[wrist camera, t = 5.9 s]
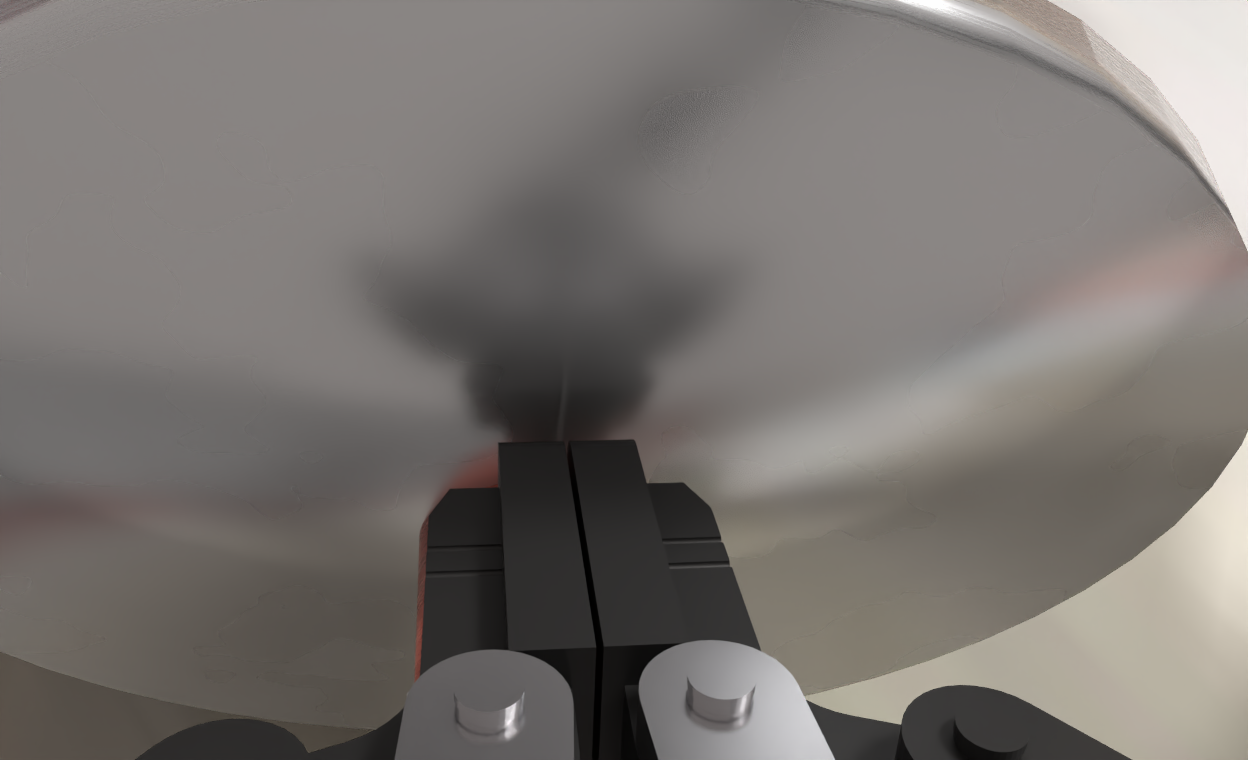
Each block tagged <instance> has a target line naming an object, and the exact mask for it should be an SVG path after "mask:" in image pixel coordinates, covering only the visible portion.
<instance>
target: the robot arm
mask: <svg viewBox="0 0 1248 760" xmlns="http://www.w3.org/2000/svg"><path fill="white" fill-rule="evenodd" d="M135 760H1131V759H1130V758H1128V757H1126V756H1124V755H1122V754H1121V753H1119V752H1117V751H1115V750H1113V749H1111V748H1110V747H1108V746H1106V745H1104V744H1102V743H1101V742H1099V741H1097V740H1095V739H1093V738H1091V737H1090V736H1088V735H1086V734H1084V733H1082V732H1081V731H1079V730H1077V729H1075V728H1073V727H1071V726H1070V725H1068V724H1066V723H1064V722H1062V721H1061V720H1059V719H1057V718H1055V717H1053V716H1051V715H1050V714H1048V713H1046V712H1044V711H1042V710H1041V709H1039V708H1037V707H1035V706H1033V705H1031V704H1030V703H1028V702H1026V701H1024V700H1022V699H1019V698H1017V697H1015V696H1013V695H1010V694H1007V693H1004V692H1002V691H998V690H994V689H990V688H985V687H978V686H968V685H955V686H945V687H941V688H936V689H933V690H930V691H928V692H926V693H923V694H922V695H920V696H919V697H917V698H916V699H914V700H913V702H912V703H911V704H910V705H909V706H908V707H907V709H906V711H905V713H904V715H903V719H902V724H901V725H899V724H893V723H888V722H883V721H877V720H872V719H867V718H861V717H856V716H851V715H847V714H842V713H838V712H834V711H832V710H829V709H826V708H823V707H820V706H818V705H816V704H814V703H812V702H809V701H807V700H806V699H805V697H804V695H803V693H802V691H801V689H800V687H799V685H798V683H797V682H796V680H795V679H794V677H793V675H792V674H791V673H790V672H789V671H788V670H787V669H786V668H785V667H784V666H783V665H782V664H781V663H779V662H778V661H777V660H776V659H774V658H772V657H771V656H769V655H767V654H766V653H764V652H762V651H761V648H760V645H759V643H758V640H757V637H756V634H755V631H754V628H753V625H752V623H751V620H750V617H749V614H748V611H747V608H746V606H745V603H744V600H743V597H742V594H741V591H740V588H739V586H738V583H737V580H736V577H735V574H734V571H733V568H732V567H730V560H729V557H728V554H727V551H726V549H725V546H724V543H723V542H721V534H720V531H719V529H718V526H717V523H716V520H715V517H714V514H713V511H712V509H711V507H710V506H709V505H708V504H707V503H706V502H705V501H703V500H702V499H701V498H700V497H699V496H698V495H697V494H696V493H695V492H693V491H692V490H691V489H690V488H689V487H688V486H687V485H686V484H685V483H684V482H678V483H647V482H646V478H645V475H644V471H643V467H642V463H641V460H640V456H639V452H638V448H637V445H636V442H635V440H634V439H627V440H579V441H569V442H568V447H567V454H566V448H565V443H564V441H543V442H498V487H495V488H456V489H449V490H448V492H447V493H446V494H445V496H444V497H443V498H442V499H441V501H440V502H439V503H438V504H437V506H436V507H435V508H434V510H433V511H432V512H431V513H430V515H429V518H428V537H427V555H426V578H425V592H424V610H423V628H422V647H421V665H420V676H419V678H418V679H417V680H416V682H415V683H414V684H413V685H412V687H411V689H410V691H409V692H408V695H407V698H406V701H405V705H404V707H403V709H402V710H401V711H400V712H399V713H398V714H397V715H395V716H394V717H393V718H392V719H391V720H389V721H388V722H387V723H385V724H384V725H382V726H380V727H379V728H377V729H376V730H374V731H372V732H370V733H368V734H366V735H363V736H361V737H359V738H356V739H353V740H351V741H348V742H345V743H342V744H338V745H335V746H332V747H328V748H325V749H322V750H318V751H315V752H311V753H308V752H307V751H306V749H305V747H304V745H303V744H302V743H301V742H300V741H299V740H298V739H297V738H296V737H295V736H294V735H293V734H291V733H290V732H288V731H287V730H285V729H283V728H281V727H279V726H276V725H274V724H271V723H267V722H263V721H259V720H250V719H226V720H219V721H212V722H208V723H204V724H200V725H196V726H193V727H191V728H188V729H185V730H182V731H180V732H178V733H176V734H174V735H172V736H170V737H168V738H166V739H164V740H163V741H161V742H160V743H158V744H157V745H155V746H153V747H152V748H151V749H149V750H148V751H146V752H145V753H144V754H142V755H141V756H139V757H138V758H137V759H135Z"/></svg>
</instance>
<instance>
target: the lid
mask: <svg viewBox="0 0 1248 760" xmlns="http://www.w3.org/2000/svg"><path fill="white" fill-rule="evenodd" d="M1247 431H1248V251H1247V249H1246V247H1245V244H1244V242H1243V240H1242V238H1241V235H1240V233H1239V231H1238V229H1237V226H1236V224H1235V222H1234V220H1233V218H1232V215H1231V213H1230V211H1229V209H1228V207H1227V204H1226V202H1225V200H1224V198H1223V195H1222V193H1221V191H1220V189H1219V187H1218V184H1217V182H1216V180H1215V178H1214V176H1213V173H1212V171H1211V169H1210V167H1209V165H1208V162H1207V160H1206V158H1205V156H1204V154H1203V151H1202V149H1201V147H1200V145H1199V143H1198V140H1197V139H1196V137H1195V136H1194V135H1193V134H1192V132H1191V131H1190V130H1189V128H1188V127H1187V126H1186V124H1185V123H1184V122H1183V121H1182V119H1181V118H1180V117H1179V115H1178V114H1177V113H1176V111H1175V110H1174V109H1173V108H1172V106H1171V105H1170V104H1169V102H1168V101H1167V100H1166V98H1165V97H1164V96H1163V95H1162V93H1161V92H1160V91H1159V89H1158V88H1157V87H1156V85H1155V84H1154V83H1153V81H1152V80H1151V79H1150V78H1149V77H1148V76H1147V75H1145V74H1144V73H1143V72H1142V71H1141V70H1140V69H1138V68H1137V67H1136V66H1135V65H1134V64H1132V63H1131V62H1130V61H1129V60H1128V59H1127V58H1125V57H1124V56H1123V55H1122V54H1121V53H1119V52H1118V51H1117V50H1116V49H1115V48H1114V47H1112V46H1111V45H1110V44H1109V43H1108V42H1106V41H1105V40H1104V39H1103V38H1102V37H1101V36H1099V35H1098V34H1097V33H1096V32H1095V31H1093V30H1092V29H1091V28H1090V27H1089V26H1088V25H1086V24H1085V23H1084V22H1083V21H1082V20H1080V19H1079V18H1077V17H1075V16H1074V15H1072V14H1070V13H1068V12H1067V11H1065V10H1063V9H1061V8H1060V7H1058V6H1056V5H1054V4H1053V3H1051V2H1049V1H1048V0H0V652H3V653H5V654H8V655H10V656H13V657H16V658H18V659H21V660H24V661H26V662H29V663H31V664H34V665H37V666H39V667H42V668H45V669H48V670H52V671H55V672H58V673H61V674H65V675H68V676H71V677H74V678H78V679H81V680H84V681H87V682H91V683H94V684H97V685H100V686H104V687H108V688H112V689H116V690H120V691H124V692H128V693H132V694H136V695H140V696H144V697H149V698H153V699H157V700H161V701H165V702H170V703H175V704H181V705H186V706H191V707H196V708H201V709H207V710H212V711H217V712H222V713H228V714H235V715H242V716H249V717H256V718H263V719H270V720H277V721H284V722H292V723H302V724H312V725H322V726H332V727H342V728H355V729H372V730H376V729H377V728H379V727H380V726H382V725H384V724H385V723H387V722H388V721H389V720H391V719H392V718H393V717H394V716H395V715H397V714H398V713H399V712H400V711H401V710H402V709H403V707H404V705H405V701H406V698H407V695H408V692H409V691H410V689H411V687H412V685H413V684H414V683H415V682H416V680H417V679H418V678H419V676H420V665H421V647H422V628H423V610H424V592H425V578H426V555H427V537H428V518H429V515H430V513H431V512H432V511H433V510H434V508H435V507H436V506H437V504H438V503H439V502H440V501H441V499H442V498H443V497H444V496H445V494H446V493H447V492H448V490H449V489H456V488H495V487H498V442H543V441H564V443H565V448H566V454H567V447H568V442H569V441H579V440H627V439H634V440H635V442H636V445H637V448H638V452H639V456H640V460H641V463H642V467H643V471H644V475H645V478H646V482H647V483H678V482H684V483H685V484H686V485H687V486H688V487H689V488H690V489H691V490H692V491H693V492H695V493H696V494H697V495H698V496H699V497H700V498H701V499H702V500H703V501H705V502H706V503H707V504H708V505H709V506H710V507H711V509H712V511H713V514H714V517H715V520H716V523H717V526H718V529H719V531H720V534H721V542H723V543H724V546H725V549H726V551H727V554H728V557H729V560H730V567H732V568H733V571H734V574H735V577H736V580H737V583H738V586H739V588H740V591H741V594H742V597H743V600H744V603H745V606H746V608H747V611H748V614H749V617H750V620H751V623H752V625H753V628H754V631H755V634H756V637H757V640H758V643H759V645H760V648H761V651H762V652H764V653H766V654H767V655H769V656H771V657H772V658H774V659H776V660H777V661H778V662H779V663H781V664H782V665H783V666H784V667H785V668H786V669H787V670H788V671H789V672H790V673H791V674H792V675H793V677H794V679H795V680H796V682H797V683H798V685H799V687H800V689H801V691H802V693H803V695H804V696H806V695H810V694H815V693H819V692H823V691H827V690H831V689H834V688H838V687H842V686H846V685H850V684H853V683H857V682H861V681H865V680H868V679H872V678H876V677H879V676H882V675H885V674H888V673H891V672H894V671H898V670H901V669H904V668H907V667H910V666H913V665H916V664H920V663H923V662H926V661H929V660H932V659H934V658H937V657H940V656H942V655H945V654H948V653H950V652H953V651H955V650H958V649H961V648H963V647H966V646H969V645H971V644H974V643H977V642H979V641H982V640H984V639H987V638H989V637H991V636H993V635H995V634H998V633H1000V632H1002V631H1004V630H1007V629H1009V628H1011V627H1013V626H1015V625H1018V624H1020V623H1022V622H1024V621H1026V620H1029V619H1031V618H1033V617H1035V616H1037V615H1039V614H1041V613H1043V612H1045V611H1047V610H1048V609H1050V608H1052V607H1054V606H1056V605H1058V604H1060V603H1061V602H1063V601H1065V600H1067V599H1069V598H1071V597H1073V596H1074V595H1076V594H1078V593H1080V592H1082V591H1084V590H1086V589H1087V588H1089V587H1090V586H1092V585H1093V584H1095V583H1096V582H1098V581H1099V580H1101V579H1102V578H1104V577H1106V576H1107V575H1109V574H1110V573H1112V572H1113V571H1115V570H1116V569H1118V568H1119V567H1121V566H1122V565H1124V564H1126V563H1127V562H1129V561H1130V560H1132V559H1133V558H1134V557H1135V556H1137V555H1138V554H1139V553H1140V552H1142V551H1143V550H1144V549H1145V548H1147V547H1148V546H1149V545H1150V544H1152V543H1153V542H1154V541H1155V540H1157V539H1158V538H1159V537H1160V536H1162V535H1163V534H1164V533H1165V532H1167V531H1168V530H1169V529H1170V528H1172V527H1173V526H1174V525H1175V524H1176V523H1177V522H1178V521H1179V520H1180V519H1181V518H1182V517H1183V516H1184V515H1185V514H1186V513H1187V512H1188V511H1189V510H1190V509H1191V508H1192V507H1193V506H1194V505H1195V504H1196V503H1197V502H1198V500H1199V499H1200V498H1201V497H1202V496H1203V495H1204V494H1205V493H1206V492H1207V491H1208V490H1209V489H1210V488H1211V487H1212V486H1213V484H1214V483H1215V482H1216V480H1217V479H1218V477H1219V476H1220V474H1221V473H1222V472H1223V470H1224V469H1225V467H1226V466H1227V465H1228V463H1229V462H1230V460H1231V459H1232V457H1233V456H1234V455H1235V453H1236V452H1237V450H1238V449H1239V448H1240V446H1241V445H1242V443H1243V440H1244V438H1245V436H1246V434H1247Z"/></svg>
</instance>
